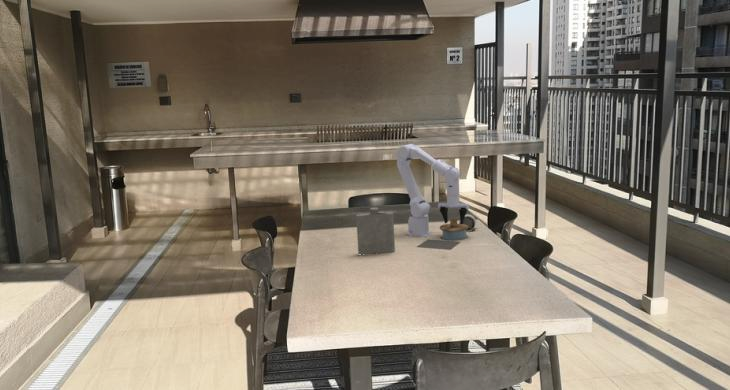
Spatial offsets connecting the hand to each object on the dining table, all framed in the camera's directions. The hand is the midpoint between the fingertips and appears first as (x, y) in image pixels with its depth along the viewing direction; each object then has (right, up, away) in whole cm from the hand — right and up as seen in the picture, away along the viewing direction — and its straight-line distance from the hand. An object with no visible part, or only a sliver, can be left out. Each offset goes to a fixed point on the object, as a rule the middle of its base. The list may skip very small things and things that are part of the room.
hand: (453, 223), depth 278 cm
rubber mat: (-8, -9, -11) cm, 17 cm away
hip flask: (-36, -12, -18) cm, 42 cm away
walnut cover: (0, -2, 0) cm, 2 cm away
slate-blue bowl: (0, -7, +1) cm, 7 cm away
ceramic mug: (+8, -4, +15) cm, 18 cm away
